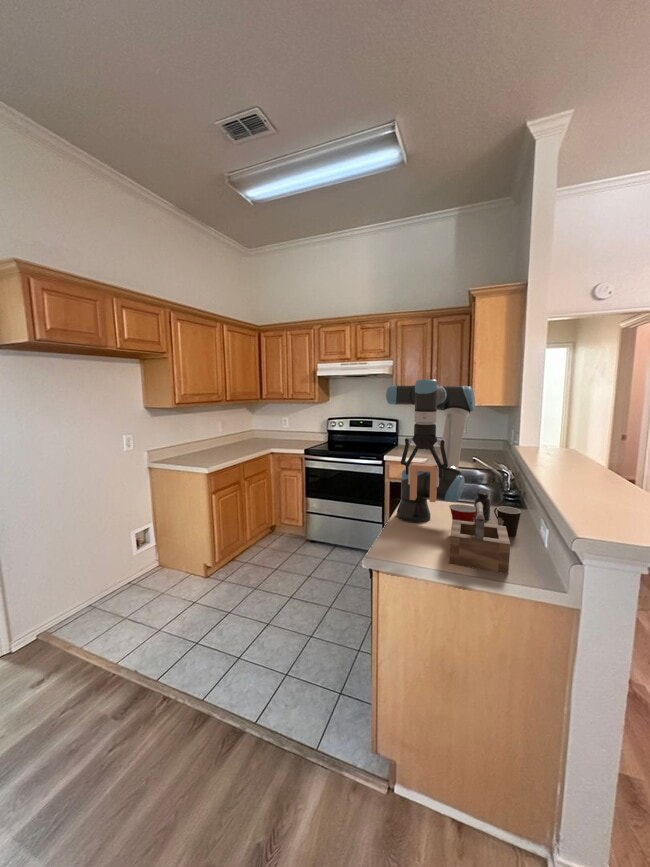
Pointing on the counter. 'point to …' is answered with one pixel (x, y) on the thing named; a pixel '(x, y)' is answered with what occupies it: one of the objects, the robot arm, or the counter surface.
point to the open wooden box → (479, 544)
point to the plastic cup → (462, 512)
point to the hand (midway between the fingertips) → (423, 484)
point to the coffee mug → (508, 519)
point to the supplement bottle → (483, 503)
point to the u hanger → (413, 479)
